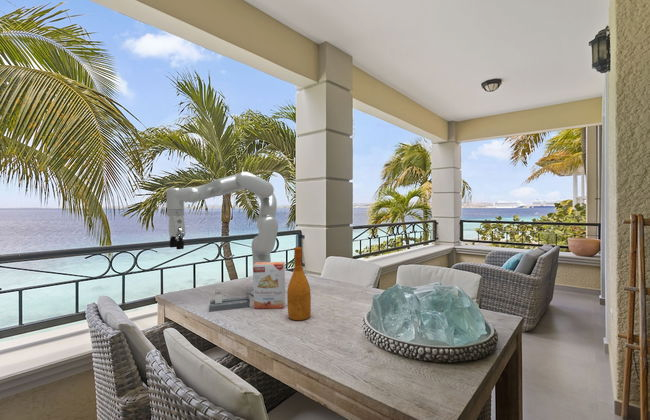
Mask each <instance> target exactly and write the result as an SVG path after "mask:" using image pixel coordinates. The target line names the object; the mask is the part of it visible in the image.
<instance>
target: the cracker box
mask: <svg viewBox="0 0 650 420" xmlns="http://www.w3.org/2000/svg"><path fill="white" fill-rule="evenodd" d="M285 263H286V262H285V261H271V262H256V263H255V264H254V265H253V264H252V280H254V296H253V308H254V309H255V310H256V309H284V308H285V306H286V271H285V269H286V268H285V267H286V266H285Z"/></svg>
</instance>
